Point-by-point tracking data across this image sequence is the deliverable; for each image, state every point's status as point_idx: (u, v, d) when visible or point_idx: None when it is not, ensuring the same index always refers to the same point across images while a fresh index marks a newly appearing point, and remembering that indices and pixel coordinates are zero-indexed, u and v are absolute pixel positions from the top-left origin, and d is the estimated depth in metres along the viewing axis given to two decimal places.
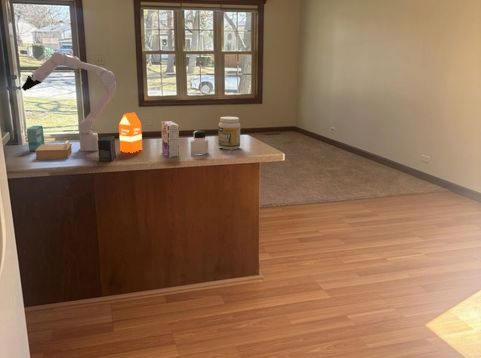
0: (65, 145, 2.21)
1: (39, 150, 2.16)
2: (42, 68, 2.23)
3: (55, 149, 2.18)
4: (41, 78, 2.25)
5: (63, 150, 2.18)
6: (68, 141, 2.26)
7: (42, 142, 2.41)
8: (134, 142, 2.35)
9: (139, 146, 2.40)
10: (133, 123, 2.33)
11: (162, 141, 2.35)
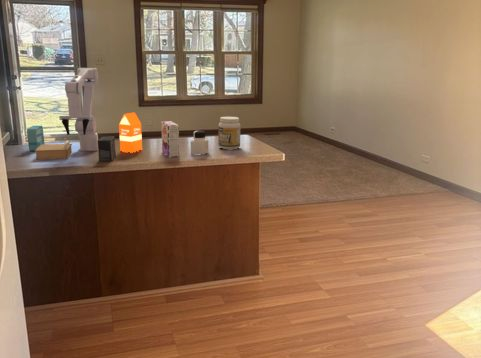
0: (65, 145, 2.21)
1: (39, 150, 2.16)
2: (79, 106, 2.19)
3: (55, 149, 2.18)
4: None
5: (63, 150, 2.18)
6: (68, 141, 2.26)
7: (42, 142, 2.41)
8: (134, 142, 2.35)
9: (139, 146, 2.40)
10: (133, 123, 2.33)
11: (162, 141, 2.35)
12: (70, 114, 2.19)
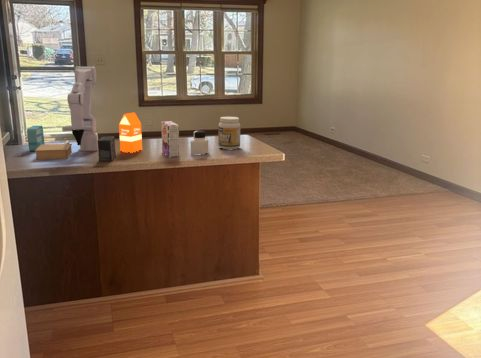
0: (65, 145, 2.21)
1: (39, 150, 2.16)
2: (81, 117, 2.21)
3: (55, 149, 2.18)
4: None
5: (63, 150, 2.18)
6: (68, 141, 2.26)
7: (42, 142, 2.41)
8: (134, 142, 2.35)
9: (139, 146, 2.40)
10: (133, 123, 2.33)
11: (162, 141, 2.35)
12: (73, 125, 2.21)
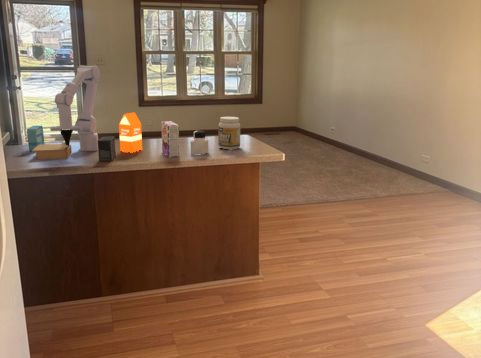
0: (62, 145, 2.21)
1: (36, 150, 2.16)
2: (68, 117, 2.19)
3: (52, 149, 2.18)
4: None
5: (60, 150, 2.18)
6: None
7: (42, 142, 2.41)
8: (133, 142, 2.35)
9: (139, 146, 2.40)
10: (133, 123, 2.33)
11: (162, 141, 2.35)
12: (61, 125, 2.20)
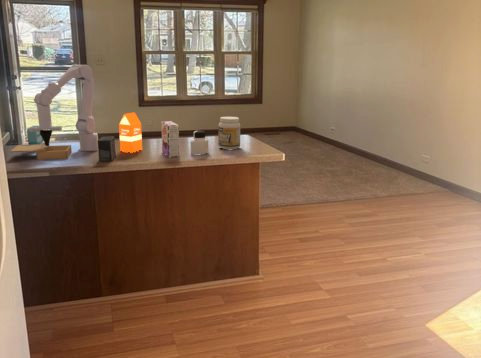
0: (41, 146, 2.19)
1: (15, 151, 2.14)
2: (45, 118, 2.17)
3: (31, 150, 2.16)
4: None
5: (39, 151, 2.16)
6: None
7: None
8: (134, 142, 2.35)
9: (139, 146, 2.40)
10: (133, 123, 2.33)
11: (162, 141, 2.35)
12: (40, 126, 2.18)
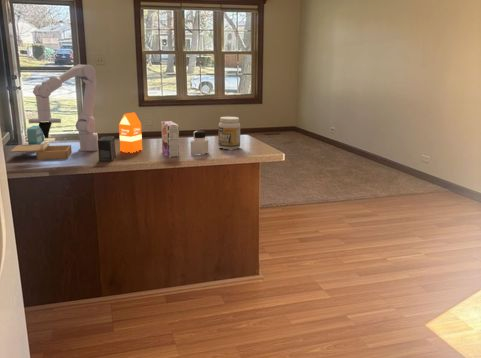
0: (41, 146, 2.19)
1: (14, 151, 2.14)
2: (44, 110, 2.16)
3: (31, 150, 2.16)
4: None
5: (39, 151, 2.16)
6: (45, 142, 2.24)
7: None
8: (133, 142, 2.35)
9: (139, 146, 2.40)
10: (133, 123, 2.33)
11: (162, 141, 2.35)
12: (39, 117, 2.17)
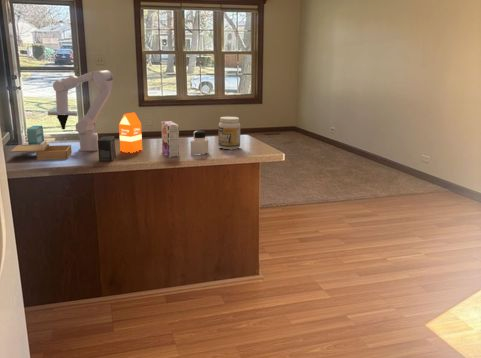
0: (41, 146, 2.19)
1: (14, 151, 2.14)
2: (57, 103, 2.36)
3: (31, 150, 2.16)
4: None
5: (39, 151, 2.16)
6: (45, 142, 2.24)
7: None
8: (134, 142, 2.35)
9: (139, 146, 2.40)
10: (133, 123, 2.33)
11: (162, 141, 2.35)
12: (58, 110, 2.36)
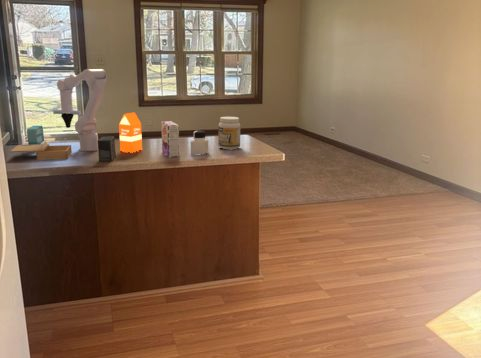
0: (41, 146, 2.19)
1: (14, 151, 2.14)
2: None
3: (31, 150, 2.16)
4: None
5: (39, 151, 2.16)
6: (45, 142, 2.24)
7: None
8: (133, 142, 2.35)
9: (139, 146, 2.40)
10: (133, 123, 2.33)
11: (162, 141, 2.35)
12: (62, 109, 2.41)
